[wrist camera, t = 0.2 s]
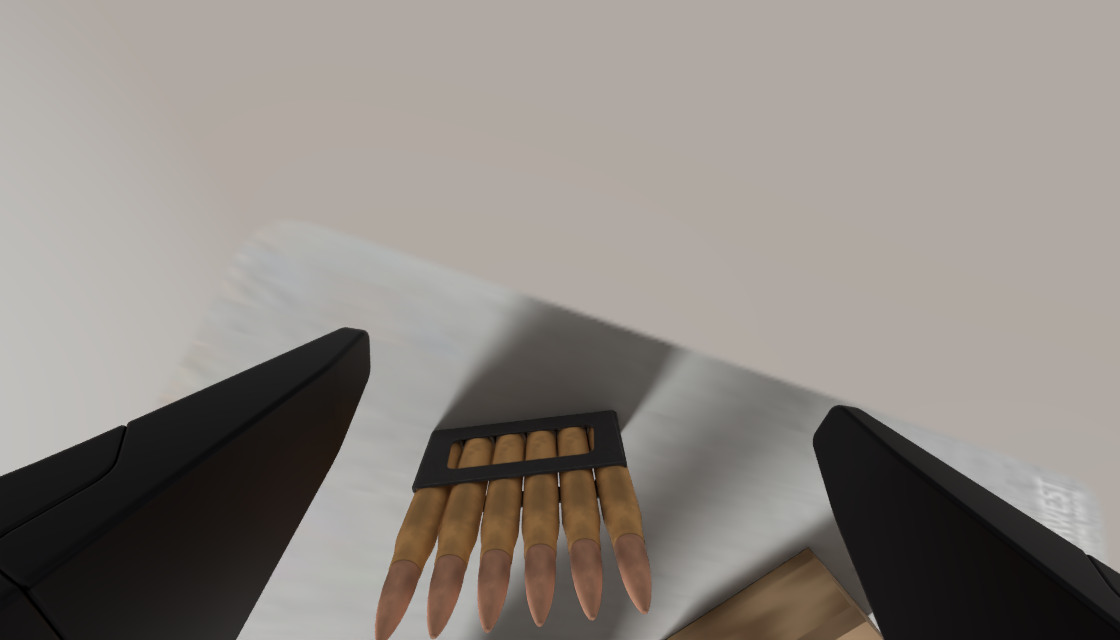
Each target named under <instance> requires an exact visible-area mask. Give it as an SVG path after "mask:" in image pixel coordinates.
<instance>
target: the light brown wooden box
mask: <svg viewBox="0 0 1120 640" xmlns="http://www.w3.org/2000/svg"><path fill="white" fill-rule="evenodd" d="M854 604H855V606H856V607H857V608H858V609H859V610H860V611H861V613H862V614H863V615H864V616H865V617H866V618H867V619H868V621H869V622H870V623H871V624H872V625H873V626H874V628H875V629H876V630H877V631H878V632H879V630H878V629H877V628H876V626H875V625H874V624H873V622H872V621H871V620H870V618H869V617H868V616H867V615H866V613H865V612H864V611H863V610H862V609H861V608H860V606H859V605H858V604H857V603H856V602H855V601H854V600H853V598H852V597H851V596H850V595H849V594H848V593H847V591H846V590H845V589H844V588H843V587H842V586H841V584H840V583H839V582H838V581H837V580H836V579H835V578H834V576H833V575H832V574H831V573H830V572H829V571H828V569H827V568H826V567H825V566H824V565H823V564H822V562H821V561H820V560H819V559H818V558H817V557H816V556H815V554H814V553H813V552H812V551H811V550H810V549H809V548H807V549H805V550H804V551H802V552H801V553H799V554H798V555H796V556H795V557H793V558H792V559H790V560H789V561H787V562H785V563H784V564H782V565H781V566H779V567H778V568H776V569H775V570H773V571H772V572H770V573H768V574H767V575H765V576H764V577H762V578H761V579H759V580H758V581H756V582H755V583H753V584H751V585H750V586H748V587H747V588H745V589H744V590H742V591H741V592H739V593H738V594H736V595H734V596H733V597H731V598H730V599H728V600H727V601H725V602H724V603H722V604H721V605H719V606H718V607H716V608H714V609H713V610H711V611H710V612H708V613H707V614H705V615H704V616H702V617H701V618H699V619H697V620H696V621H694V622H693V623H691V624H690V625H688V626H687V627H685V628H684V629H682V630H680V631H679V632H677V633H676V634H674V635H673V636H671V637H670V638H668V639H667V640H797V639H799V638H800V637H802V636H804V635H805V634H807V633H808V632H810V631H812V630H813V629H815V628H817V627H818V626H820V625H822V624H823V623H825V622H826V621H828V620H830V619H831V618H833V617H835V616H836V615H838V614H840V613H841V612H843V611H844V610H846V609H848V608H849V607H851V606H853V605H854ZM879 633H880V632H879ZM880 634H881V633H880ZM881 636H882V634H881ZM882 637H883V636H882Z"/></svg>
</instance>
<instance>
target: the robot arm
mask: <svg viewBox="0 0 1120 640" xmlns="http://www.w3.org/2000/svg"><path fill="white" fill-rule="evenodd" d="M370 368H371V365H370V340H369V335H368V333H367V332H366V331H365V330H360V329H354V328H348V327H343V328H340V329H338V330H336V331H334V332H331V333H329V334H327V335H325V336H322V337H320V338H318V339H316V340H313V341H311V342H309V343H306V344H304V345H302V346H300V347H297V348H295V349H293V350H291V351H288V352H286V353H284V354H282V355H279V356H277V357H275V358H273V359H270V360H268V361H266V362H264V363H261V364H259V365H257V366H255V367H252V368H250V369H248V370H245V371H243V372H241V373H239V374H236V375H234V376H232V377H230V378H227V379H225V380H223V381H221V382H218V383H216V384H214V385H212V386H209V387H207V388H205V389H203V390H200V391H198V392H196V393H193V394H191V395H189V396H187V397H184V398H182V399H180V400H178V401H175V402H173V403H171V404H169V405H166V406H164V407H162V408H160V409H157V410H155V411H153V412H150V413H148V414H146V415H144V416H141V417H139V418H137V419H135V420H132V421H130V422H129V423H128V424H127V427H126V426H124V425H121V426H119V427H116V428H114V429H112V430H110V431H107V432H105V433H103V434H100V435H98V436H96V437H94V438H92V439H89V440H87V441H85V442H82V443H80V444H77V445H75V446H73V447H71V448H68V449H66V450H63V451H61V452H59V453H57V454H54V455H52V456H49V457H47V458H45V459H42V460H40V461H38V462H35V463H33V464H30V465H28V466H25V467H23V468H20V469H18V470H15V471H13V472H10V473H8V474H5V475H3V476H0V640H236V639H237V637H238V635H239V633H240V632H241V630H242V628H243V626H244V624H245V622H246V621H247V619H248V617H249V615H250V613H251V612H252V610H253V608H254V606H255V604H256V602H257V601H258V599H259V597H260V595H261V593H262V592H263V590H264V588H265V586H266V584H267V582H268V581H269V579H270V577H271V575H272V573H273V571H274V570H275V568H276V566H277V564H278V562H279V561H280V559H281V557H282V555H283V553H284V551H285V550H286V548H287V546H288V544H289V542H290V540H291V539H292V537H293V535H294V533H295V531H296V530H297V528H298V526H299V524H300V522H301V520H302V519H303V517H304V515H305V513H306V511H307V510H308V508H309V506H310V504H311V502H312V500H313V499H314V497H315V495H316V493H317V491H318V489H319V488H320V486H321V484H322V482H323V480H324V479H325V477H326V475H327V473H328V471H329V469H330V468H331V466H332V464H333V462H334V460H335V458H336V456H337V454H338V452H339V450H340V448H341V446H342V443H343V441H344V438H345V436H346V434H347V431H348V429H349V426H350V424H351V421H352V419H353V416H354V414H355V411H356V409H357V406H358V404H359V401H360V399H361V396H362V394H363V391H364V389H365V386H366V384H367V381H368V379H369V375H370ZM813 447H814V451H815V454H816V457H817V461H818V464H819V468H820V471H821V474H822V478H823V481H824V484H825V488H826V491H827V494H828V498H829V501H830V504H831V508H832V511H833V514H834V517H835V520H836V522H837V525H838V528H839V530H840V533H841V535H842V538H843V540H844V543H845V545H846V548H847V550H848V553H849V555H850V558H851V560H852V562H853V565H854V567H855V570H856V572H857V575H858V577H859V580H860V582H861V585H862V587H863V590H864V592H865V594H866V597H867V599H868V602H869V604H870V607H871V609H872V612H873V614H874V617H875V619H876V622H877V624H878V627H879V629H880V631H881V634H882V636H883V639H884V640H1120V574H1119V573H1117V572H1116V571H1114V570H1113V569H1111V568H1110V567H1108V566H1107V565H1105V564H1103V563H1102V562H1100V561H1099V560H1097V559H1095V558H1094V557H1092V556H1091V555H1086V554H1085V553H1084V551H1083V550H1081V549H1080V548H1078V547H1076V546H1075V545H1073V544H1072V543H1070V542H1069V541H1067V540H1065V539H1064V538H1062V537H1061V536H1059V535H1058V534H1056V533H1054V532H1053V531H1051V530H1050V529H1048V528H1046V527H1045V526H1043V525H1042V524H1040V523H1039V522H1037V521H1035V520H1034V519H1032V518H1031V517H1029V516H1028V515H1026V514H1024V513H1023V512H1021V511H1020V510H1018V509H1017V508H1015V507H1013V506H1012V505H1010V504H1009V503H1007V502H1006V501H1004V500H1002V499H1001V498H999V497H998V496H996V495H995V494H993V493H991V492H990V491H988V490H987V489H985V488H983V487H982V486H980V485H979V484H977V483H976V482H974V481H972V480H971V479H969V478H968V477H966V476H965V475H963V474H961V473H960V472H958V471H957V470H955V469H954V468H952V467H950V466H949V465H947V464H946V463H944V462H943V461H941V460H939V459H938V458H936V457H935V456H933V455H932V454H930V453H928V452H927V451H925V450H924V449H922V448H920V447H919V446H917V445H916V444H914V443H913V442H911V441H909V440H908V439H906V438H905V437H903V436H902V435H900V434H898V433H897V432H895V431H894V430H892V429H891V428H889V427H887V426H886V425H884V424H883V423H881V422H880V421H878V420H876V419H875V418H873V417H872V416H870V415H869V414H867V413H865V412H864V411H862V410H860V409H858V408H855V407H849V406H842V405H837V406H834V407H833V408H831V410H830V411H829V412H828V414H827V415H826V417H825V418H824V420H823V421H822V423H821V424H820V426H819V427H818V429H817V430H816V432H815V434H814V437H813Z"/></svg>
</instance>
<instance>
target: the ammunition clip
mask: <svg viewBox="0 0 1120 640" xmlns="http://www.w3.org/2000/svg"><path fill="white" fill-rule="evenodd" d="M491 464H492V465H491ZM592 468H594V473H595V478H596V480H595V481H594V477H593V471H592ZM558 472H559V479H560V487H558ZM523 477H524V491H522V484H523ZM488 481H489V484H488ZM487 485H488V490H487ZM412 490H413V493H415V494H414V497H413V499H412V502H411V504H410V506H409V509H408V511H407V514H406V516H405V519H404V521H403V524H402V526H401V529H400V531H399V533H398V536H397V539H396V544H395V550H394V555H393V558H392V561H391V564H390V567H389V572H388V575H387V577H386V580H385V583H384V585H383V588H382V592H381V596H380V599H379V603H378V608H377V614H376V622H375V638H376V640H387V639H388V638H389V637H390V636H391V635H392V633H393V632H394V631H395V629H396V628H397V626H398V624H399V623H400V621H401V619H402V618H403V616H404V614H405V612H406V610H407V608H408V605H409V603H410V601H411V599H412V596H413V594H414V592H415V589H416V586H417V583H418V580H419V578H420V576H421V574H422V571H423V568H424V565H425V563H426V561H427V559H428V558H429V556H430V554H431V552H432V550H433V548H434V546H435V543H436V540H437V537H438V550H437V555H436V559H435V563H434V570H433V574H432V578H431V582H430V588H429V595H428V604H427V624H428V631H429V635H430V637H431V639H435V638H437V637H438V636H439V634H440V633H441V632H442V631H443V629H444V627H445V626H446V624H447V622H448V620H449V618H450V616H451V614H452V612H453V610H454V607H455V605H456V602H457V600H458V597H459V594H460V591H461V587H462V583H463V579H464V574H465V571H466V569H467V565H468V561H469V557H470V554H471V552H472V550H473V547H474V545H475V543H476V540H477V536H478V531H479V526H480V521H481V516H482V512H483V518H482V524H481V554H480V568H479V575H478V610H479V617H480V621H481V625H482V628H483V630H484V631H485V632H486V633H489V632H490V631H491V630H492V628H493V627H494V625H495V624H496V622H497V620H498V618H499V615H500V613H501V610H502V607H503V604H504V601H505V598H506V594H507V589H508V584H509V578H510V569H511V564H512V559H513V552H514V547H515V544H516V541H517V538H518V534H519V522H520V510H521V507H523V511H522V535H523V540H524V558H525V586H526V594H527V600H528V604H529V608H530V612H531V614H532V617H533V619H534V621H535V623H536V625H537V626H539V627H541V626H542V625H543V624H544V622H545V620H546V618H547V616H548V614H549V611H550V607H551V603H552V599H553V594H554V586H555V574H556V547H557V539H558V534H559V524H560V521H559V503H561V510H562V524H563V528H564V531H565V534H566V537H567V543H568V551H569V555H570V564H571V572H572V577H573V582H574V586H575V590H576V593H577V596H578V598H579V601H580V604H581V606H582V609H583V611H584V612H585V614H586V616H587V617H588V618H589V619H590V620H594V619H595V618H596V616H597V614H598V611H599V607H600V602H601V595H602V581H603V579H602V561H601V553H600V551H601V547H600V537H599V532H600V514H599V508H598V501H597V498H599V499H600V505H601V510H602V516H603V520H604V523H605V526H606V529H607V531H608V533H609V535H610V537H611V541H612V545H613V549H614V552H615V555H616V560H617V564H618V567H619V571H620V574H621V577H622V580H623V583H624V585H625V587H626V590H627V592H628V594H629V596H630V598H631V600H632V601H633V603H634V604H635V606H636V607H637V608H638V610H639V611H640V612H641V613H642V614H647V613H648V611H649V607H650V601H651V574H650V567H649V561H648V556H647V553H646V549H645V541H644V537H643V533H642V517H641V512H640V509H639V505H638V502H637V498H636V495H635V491H634V488H633V484H632V481H631V477H630V474H629V471H628V467H627V461H626V457H625V452H624V447H623V443H622V438H621V433H620V429H619V424H618V419H617V414H616V412H614V411H612V410H610V411H601V412H593V413H584V414H576V415H567V416H558V417H550V418H541V419H533V420H524V421H515V422H507V423H498V424H490V425H481V426H473V427H464V428H455V429H447V430H438V431H433V432H432V434H431V437H430V439H429V442H428V445H427V448H426V450H425V453H424V456H423V459H422V461H421V464H420V467H419V470H418V472H417V475H416V478H415V481H414V483H413V486H412ZM486 490H487V495H486ZM485 495H486V496H485ZM438 534H439V535H438Z"/></svg>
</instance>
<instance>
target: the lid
mask: <svg viewBox="0 0 1120 640" xmlns="http://www.w3.org/2000/svg"><path fill="white" fill-rule="evenodd" d="M797 640H884V639H883V637H882V636H881V634H880V633H879V632H878V631H877V630H876V629H875V628H874V626H873V625H872V624H871V623H870V622H869V621H868V619H867V618H866V617H865V616H864V615H863V614H862V613H861V611H860V610H859V609H858V608H857V607H856V606H855V604H854V605H853V606H851V607H849V608H848V609H846V610H844V611H843V612H841V613H840V614H838V615H836V616H835V617H833V618H831V619H830V620H828V621H826V622H825V623H823V624H822V625H820V626H818V627H817V628H815V629H813V630H812V631H810V632H808V633H807V634H805V635H804V636H802V637H800V638H799V639H797Z"/></svg>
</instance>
